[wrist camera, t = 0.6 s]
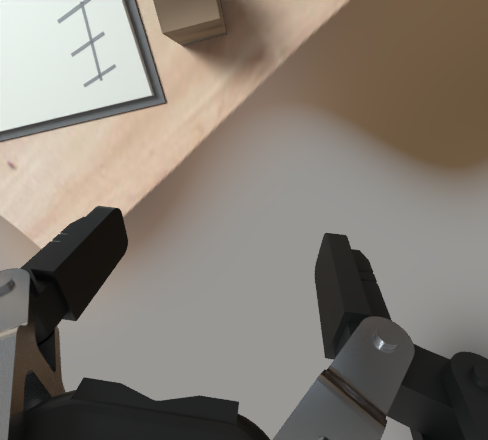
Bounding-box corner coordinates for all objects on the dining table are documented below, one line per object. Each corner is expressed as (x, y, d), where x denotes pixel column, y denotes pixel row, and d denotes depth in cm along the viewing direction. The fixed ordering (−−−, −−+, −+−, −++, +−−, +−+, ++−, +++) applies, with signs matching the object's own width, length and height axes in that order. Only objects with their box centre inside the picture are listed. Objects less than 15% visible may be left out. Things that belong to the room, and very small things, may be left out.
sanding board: (-107, -13, 28) (-119, -16, 27) (110, -83, 25) (104, -89, 24) (-15, 144, 35) (-22, 145, 34) (165, 102, 32) (163, 102, 31)
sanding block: (167, -12, 28) (141, -43, 21) (215, -26, 27) (203, -62, 21) (181, 45, 30) (162, 33, 23) (227, 34, 29) (219, 18, 23)
